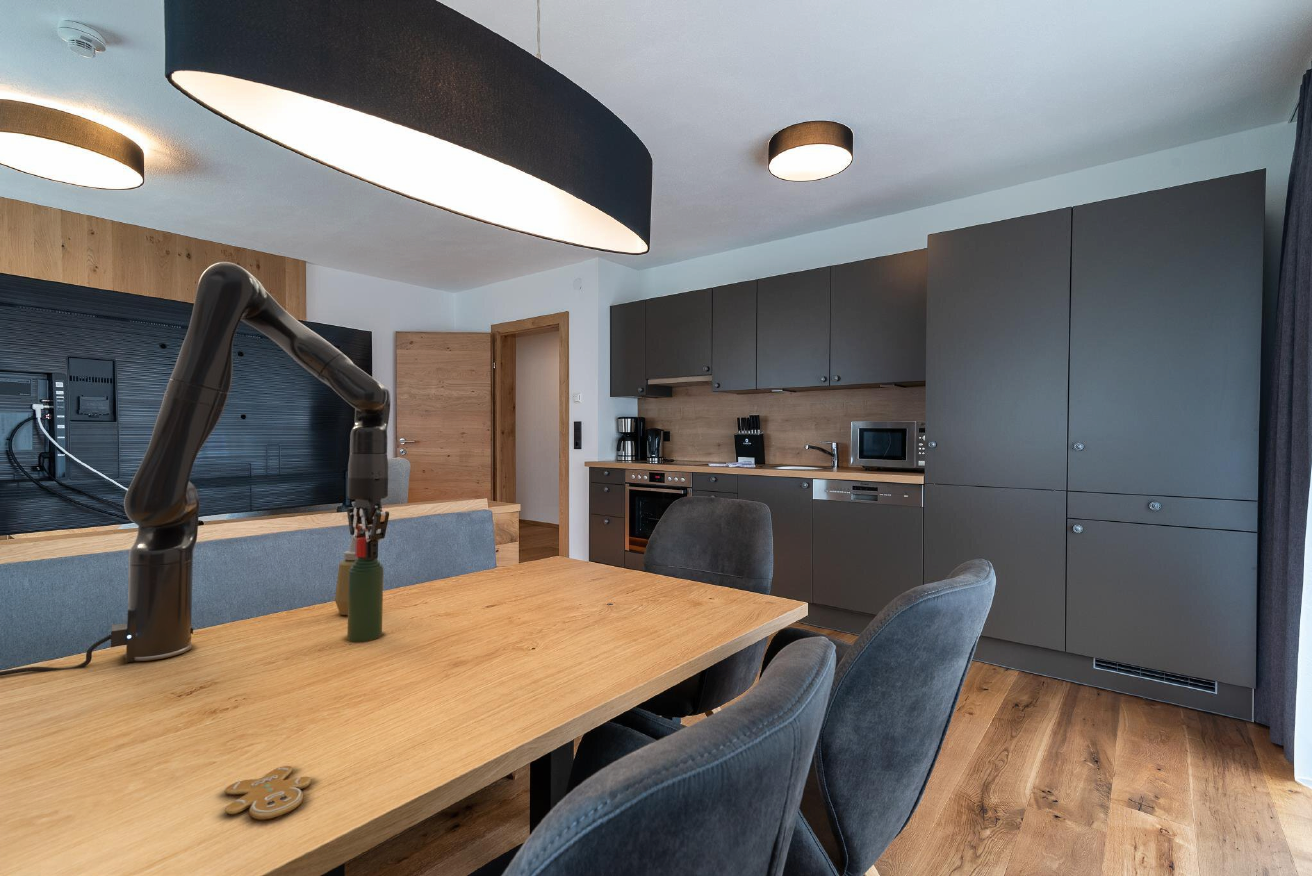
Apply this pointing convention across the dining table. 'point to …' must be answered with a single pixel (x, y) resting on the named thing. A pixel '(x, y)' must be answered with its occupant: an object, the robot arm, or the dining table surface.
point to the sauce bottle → (365, 600)
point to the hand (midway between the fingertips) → (366, 557)
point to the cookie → (268, 794)
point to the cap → (361, 547)
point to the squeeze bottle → (345, 578)
